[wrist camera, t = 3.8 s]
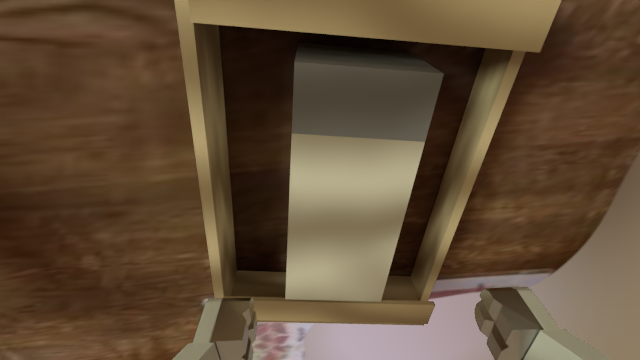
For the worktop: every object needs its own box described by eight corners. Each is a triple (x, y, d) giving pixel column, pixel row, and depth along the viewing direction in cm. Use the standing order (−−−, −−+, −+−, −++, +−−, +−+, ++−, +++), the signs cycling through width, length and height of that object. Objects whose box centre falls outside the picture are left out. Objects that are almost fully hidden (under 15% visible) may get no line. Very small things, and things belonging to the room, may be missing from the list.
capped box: (368, 246, 24) (380, 301, 20) (289, 243, 24) (285, 299, 20) (409, 51, 17) (443, 73, 13) (297, 42, 17) (294, 61, 12)
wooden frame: (415, 281, 26) (433, 329, 23) (229, 275, 25) (216, 324, 22) (519, -19, 15) (586, -21, 12) (199, -52, 14) (162, -65, 11)
